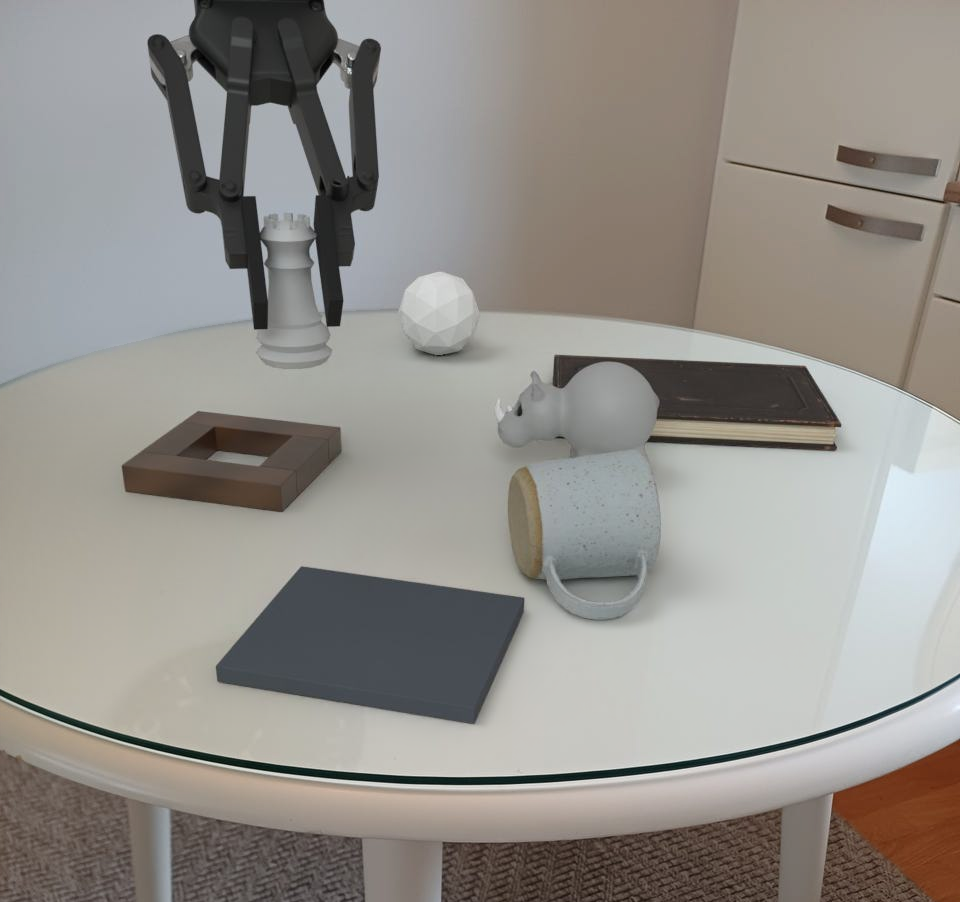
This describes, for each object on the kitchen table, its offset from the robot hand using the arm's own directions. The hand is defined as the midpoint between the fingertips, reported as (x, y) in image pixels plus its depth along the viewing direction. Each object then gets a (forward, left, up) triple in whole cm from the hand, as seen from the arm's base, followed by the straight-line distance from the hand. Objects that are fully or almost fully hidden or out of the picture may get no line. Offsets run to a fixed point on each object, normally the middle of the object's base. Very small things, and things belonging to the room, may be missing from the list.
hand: (298, 314), depth 61 cm
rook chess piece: (-2, +3, -4) cm, 6 cm away
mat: (+7, -7, -16) cm, 19 cm away
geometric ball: (-5, +48, -16) cm, 51 cm away
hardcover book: (+20, +38, -16) cm, 46 cm away
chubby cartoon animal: (+13, +21, -16) cm, 30 cm away
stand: (-11, +14, -16) cm, 24 cm away
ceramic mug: (+17, +4, -16) cm, 24 cm away
